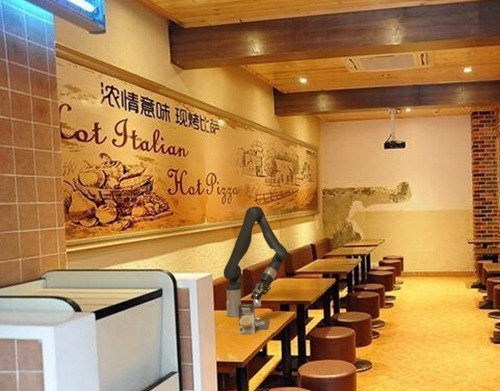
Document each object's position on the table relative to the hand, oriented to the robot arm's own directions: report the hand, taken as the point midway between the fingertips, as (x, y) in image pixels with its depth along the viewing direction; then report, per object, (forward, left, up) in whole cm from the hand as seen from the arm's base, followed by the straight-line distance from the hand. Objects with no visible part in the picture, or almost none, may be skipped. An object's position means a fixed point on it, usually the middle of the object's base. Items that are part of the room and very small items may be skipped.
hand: (254, 298), depth 351 cm
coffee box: (-4, -18, -16) cm, 24 cm away
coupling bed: (+1, +1, -16) cm, 16 cm away
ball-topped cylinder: (+1, +1, -5) cm, 5 cm away
